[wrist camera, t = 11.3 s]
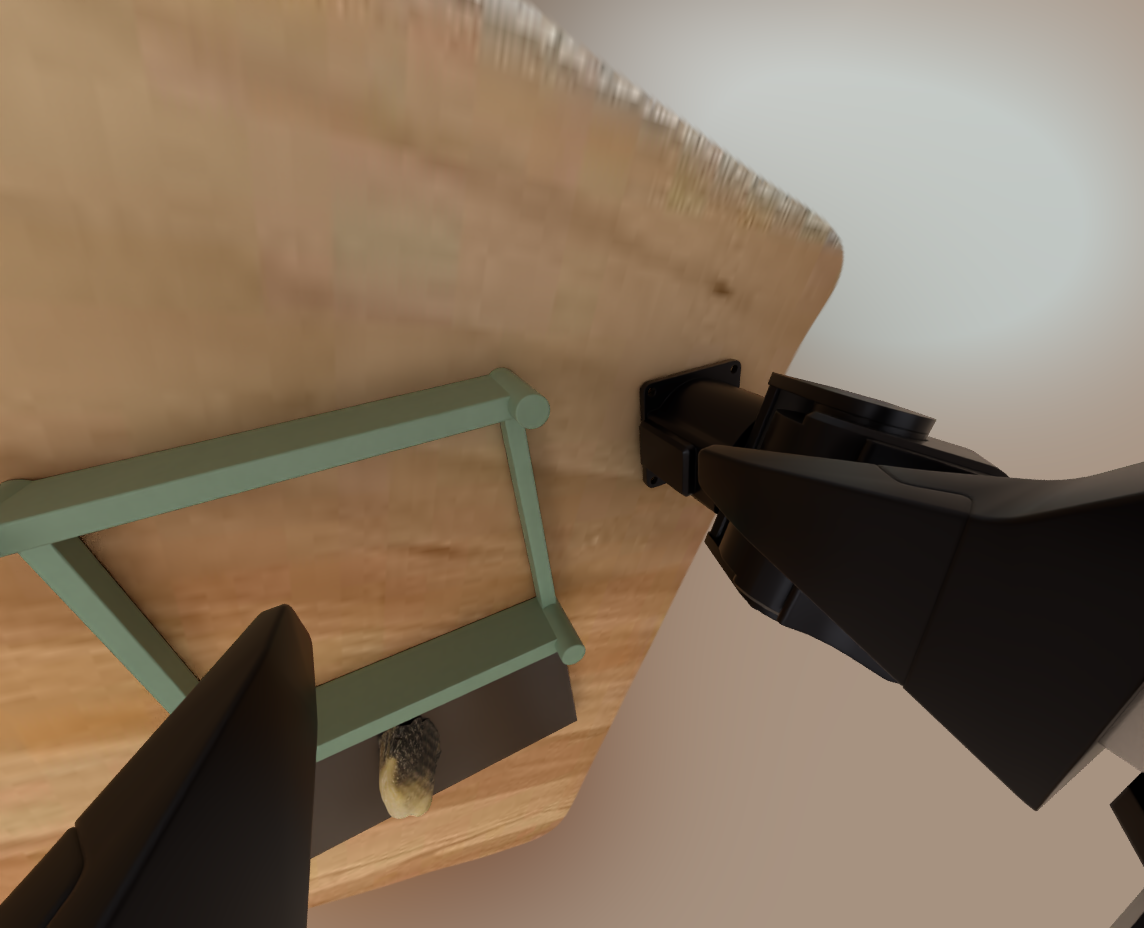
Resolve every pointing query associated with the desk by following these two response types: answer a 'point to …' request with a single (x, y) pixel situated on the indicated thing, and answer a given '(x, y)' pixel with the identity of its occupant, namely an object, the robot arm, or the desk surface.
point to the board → (445, 746)
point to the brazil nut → (408, 767)
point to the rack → (277, 453)
